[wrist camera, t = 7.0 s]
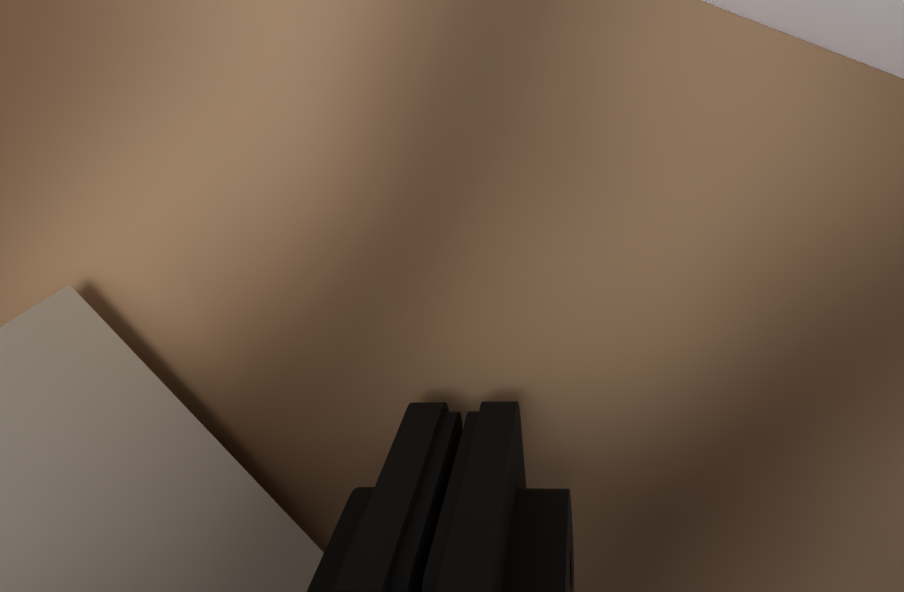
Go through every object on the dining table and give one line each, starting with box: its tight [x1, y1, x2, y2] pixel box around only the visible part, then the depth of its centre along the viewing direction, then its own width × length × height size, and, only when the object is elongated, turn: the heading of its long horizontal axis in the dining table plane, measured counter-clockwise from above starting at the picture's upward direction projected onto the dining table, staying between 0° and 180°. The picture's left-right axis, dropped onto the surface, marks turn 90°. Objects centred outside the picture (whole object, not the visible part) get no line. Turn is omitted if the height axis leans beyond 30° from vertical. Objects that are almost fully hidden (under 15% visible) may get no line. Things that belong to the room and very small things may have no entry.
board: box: [0, 0, 904, 592], centre depth 13 cm, size 28×20×4 cm
